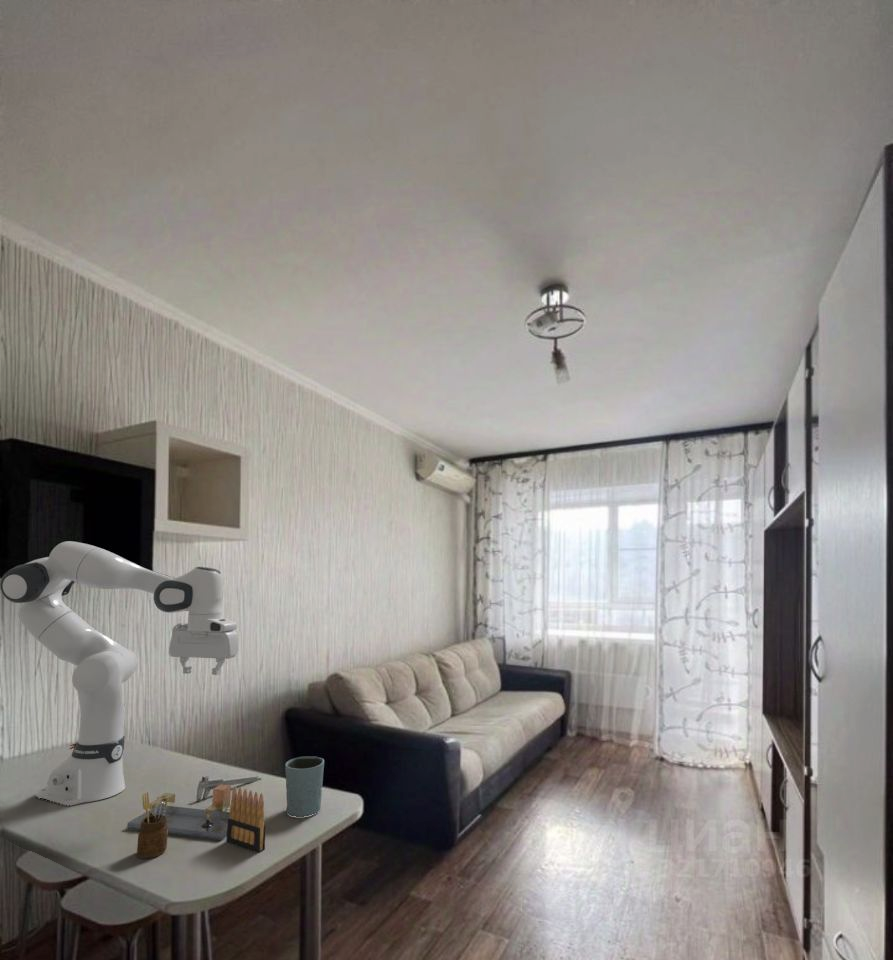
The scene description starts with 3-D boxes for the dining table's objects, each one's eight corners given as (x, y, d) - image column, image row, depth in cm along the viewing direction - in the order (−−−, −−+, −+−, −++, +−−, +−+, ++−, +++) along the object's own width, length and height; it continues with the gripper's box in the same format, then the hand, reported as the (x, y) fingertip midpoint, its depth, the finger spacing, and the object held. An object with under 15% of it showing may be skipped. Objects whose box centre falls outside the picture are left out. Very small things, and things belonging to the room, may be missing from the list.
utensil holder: (151, 861, 120) (155, 802, 122) (129, 856, 122) (133, 798, 124) (172, 848, 126) (176, 791, 127) (151, 844, 128) (155, 788, 130)
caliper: (198, 803, 150) (200, 778, 151) (196, 802, 151) (197, 777, 152) (261, 780, 167) (262, 757, 168) (259, 779, 168) (260, 757, 169)
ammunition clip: (265, 849, 125) (267, 792, 127) (258, 853, 124) (261, 795, 125) (232, 838, 130) (235, 783, 132) (225, 842, 129) (228, 786, 131)
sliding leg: (201, 823, 134) (202, 795, 135) (219, 811, 140) (220, 784, 141) (212, 824, 133) (213, 796, 134) (229, 812, 140) (230, 785, 141)
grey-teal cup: (299, 823, 138) (301, 771, 140) (274, 812, 144) (277, 763, 146) (331, 809, 146) (332, 760, 148) (306, 799, 152) (307, 753, 154)
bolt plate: (127, 829, 135) (128, 807, 136) (156, 811, 145) (158, 791, 145) (221, 840, 129) (222, 817, 130) (246, 821, 139) (247, 800, 140)
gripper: (165, 624, 159) (161, 674, 157) (228, 625, 154) (226, 677, 152) (180, 622, 165) (177, 670, 163) (242, 623, 161) (239, 673, 158)
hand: (201, 673), depth 158 cm, fingers open, 8 cm apart
